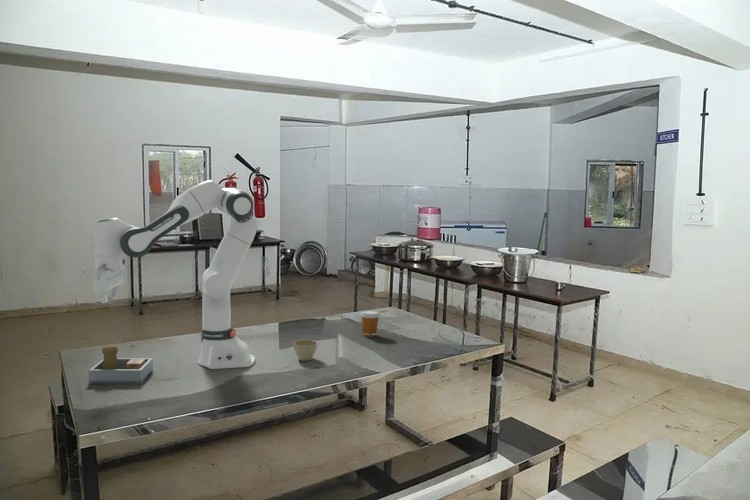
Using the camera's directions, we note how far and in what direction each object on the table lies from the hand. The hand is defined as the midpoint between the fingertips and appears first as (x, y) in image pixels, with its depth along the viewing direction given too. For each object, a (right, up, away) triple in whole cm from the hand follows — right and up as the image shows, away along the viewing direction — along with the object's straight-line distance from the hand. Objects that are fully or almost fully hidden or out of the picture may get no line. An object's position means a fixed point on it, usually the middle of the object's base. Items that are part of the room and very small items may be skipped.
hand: (109, 300), depth 201 cm
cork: (-1, -28, +3) cm, 28 cm away
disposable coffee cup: (+94, -25, +73) cm, 122 cm away
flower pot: (+67, -28, +32) cm, 80 cm away
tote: (+3, -29, +4) cm, 29 cm away
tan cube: (+8, -28, +4) cm, 30 cm away
